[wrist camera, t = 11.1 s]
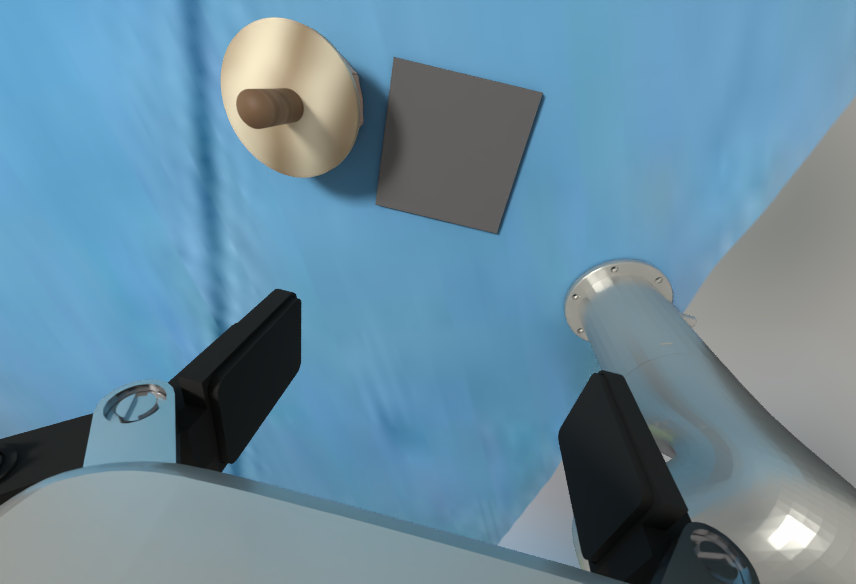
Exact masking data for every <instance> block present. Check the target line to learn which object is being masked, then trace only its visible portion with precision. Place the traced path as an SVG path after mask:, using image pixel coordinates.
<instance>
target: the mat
mask: <svg viewBox="0 0 856 584" xmlns="http://www.w3.org/2000/svg"><path fill="white" fill-rule="evenodd" d="M542 94H543V93H542V92H537V91H533V90H529V89H525V88H521V87H517V86H512V85H508V84H504V83H500V82H496V81H492V80H487V79H483V78H479V77H475V76H471V75H467V74H462V73H458V72H454V71H450V70H446V69H442V68H437V67H433V66H429V65H425V64H421V63H417V62H412V61H408V60H404V59H400V58H396V57H394V60H393V68H392V76H391V84H390V92H389V100H388V108H387V116H386V124H385V132H384V140H383V148H382V156H381V164H380V172H379V180H378V188H377V196H376V205H380V206H384V207H388V208H392V209H396V210H401V211H405V212H409V213H413V214H417V215H421V216H426V217H430V218H434V219H438V220H442V221H446V222H451V223H455V224H459V225H463V226H467V227H471V228H476V229H480V230H484V231H488V232H492V233H496V234H497V231H498V228H499V225H500V222H501V219H502V216H503V213H504V209H505V206H506V203H507V200H508V197H509V194H510V191H511V188H512V185H513V182H514V179H515V176H516V173H517V170H518V167H519V164H520V161H521V158H522V155H523V152H524V149H525V146H526V143H527V140H528V137H529V134H530V131H531V128H532V124H533V121H534V118H535V115H536V112H537V109H538V106H539V103H540V100H541V97H542Z"/></svg>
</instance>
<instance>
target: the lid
mask: <svg viewBox="0 0 856 584" xmlns="http://www.w3.org/2000/svg"><path fill="white" fill-rule="evenodd" d="M221 91H222V98H223V103H224V107H225V110H226V113H227V116H228V118H229V121H230V123H231V125H232V127H233V129H234V131H235V133H236V134H237V136H238V137H239V139H240V140H241V142H242V143H243V144H244V146H245V147H246V148H247V149H248V150H249V151H250V152H251V153H252V154H253V155H254V156H255V157H256V158H257V159H258V160H259V161H261V162H262V163H263V164H265V165H266V166H268V167H269V168H271V169H273V170H275V171H277V172H279V173H282V174H285V175H288V176H293V177H301V178H305V177H314V176H319V175H321V174H324V173H326V172H328V171H330V170H331V169H333V168H335V167H336V166H338V165H339V164H340V163H341V162H342V161H343V160H344V159H345V158H346V157H347V156H348V154H349V153H350V151H351V150H352V148H353V146H354V144H355V141H356V138H357V135H358V131H359V126H360V101H359V95H358V91H357V87H356V83H355V81H354V78H353V76H352V73H351V71H350V69H349V67H348V65H347V63H346V62H345V60H344V59H343V57H342V56H341V54H340V53H339V52H338V51H337V49H336V48H335V47H334V46H333V45H332V44H331V43H330V42H329V41H328V40H327V39H326V38H325V37H324V36H322V35H321V34H320V33H318V32H317V31H315V30H314V29H312V28H310V27H308V26H306V25H304V24H301V23H299V22H296V21H293V20H289V19H284V18H265V19H260V20H257V21H254V22H252V23H251V24H249V25H247V26H245V27H244V28H243V29H242V30H240V31H239V32H238V33H237V35H236V36H235V37H234V38H233V40H232V41H231V43H230V45H229V46H228V48H227V51H226V53H225V56H224V60H223V64H222V70H221Z"/></svg>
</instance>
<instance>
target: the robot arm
mask: <svg viewBox="0 0 856 584" xmlns="http://www.w3.org/2000/svg"><path fill="white" fill-rule="evenodd" d="M612 267H613V268H612ZM672 301H673V291H672V288H671V284H670V283H669V281H668V279H667V278H666V276H665V275H664V274H663V273H662V272H661V271H660V270H658V269H657V268H656V267H654V266H653V265H651V264H648V263H646V262H643V261H639V260H633V259H620V260H613V261H609V262H605V263H602V264H600V265H597V266H595V267H593V268H591V269H590V270H588V271H586V272H585V273H584V274H582V275H581V276H580V277H579V278H578V279H577V280H576V281H575V282H574V283H573V285H572V286H571V287H570V289H569V291H568V293H567V295H566V298H565V302H564V313H565V317H566V320H567V323H568V325H569V326H570V328H571V330H572V331H573V332H574V333H575V334H576V335H577V336H579V337H580V338H582V339H583V340H586V341H588V342H590V345H591V347H592V349H593V351H594V354H595V356H596V358H597V361H598V363H599V365H600V367H601V371H600V372H599V373H598V374H597V373H594V374H592V376H591V377H590V379H589V381H588V382H587V384H586V386H585V387H584V389H583V391H582V393H581V394H580V396H579V398H578V399H577V401H576V403H575V404H574V406H573V408H572V409H571V411H570V413H569V414H568V416H567V418H566V419H565V421H564V423H563V425H562V426H561V428H560V430H559V435H558V440H559V445H560V450H561V455H562V460H563V465H564V470H565V475H566V480H567V485H568V489H569V494H570V499H571V504H572V509H573V514H574V518H573V523H572V534H573V543H574V547H575V551H576V555H577V558H578V561H579V564H580V566H581V569H579V568H575V567H572V566H568V565H565V564H562V563H558V562H554V561H551V560H546V559H543V558H540V557H536V556H533V555H529V554H525V553H522V552H518V551H515V550H511V549H507V548H504V547H500V546H497V545H493V544H489V543H486V542H482V541H479V540H475V539H471V538H468V537H464V536H460V535H457V534H453V533H449V532H446V531H442V530H438V529H435V528H431V527H427V526H424V525H420V524H416V523H413V522H409V521H405V520H401V519H398V518H394V517H390V516H387V515H383V514H379V513H376V512H372V511H368V510H364V509H361V508H357V507H353V506H349V505H346V504H342V503H338V502H334V501H331V500H327V499H323V498H319V497H316V496H312V495H308V494H304V493H301V492H297V491H293V490H289V489H285V488H282V487H278V486H274V485H270V484H266V483H262V482H258V481H254V480H250V479H246V478H242V477H238V476H234V475H230V474H226V473H222V471H223V470H224V468H225V467H226V465H227V464H228V463H230V464H232V463H234V462H235V461H236V460H237V459H238V457H239V456H240V454H241V453H242V452H243V450H244V449H245V447H246V446H247V444H248V443H249V442H250V440H251V439H252V437H253V436H254V434H255V433H256V431H257V430H258V429H259V427H260V426H261V424H262V423H263V421H264V420H265V418H266V417H267V416H268V414H269V413H270V411H271V410H272V408H273V407H274V406H275V404H276V403H277V401H278V400H279V398H280V397H281V395H282V394H283V393H284V391H285V390H286V388H287V387H288V385H289V384H290V383H291V381H292V380H293V378H294V377H295V375H296V374H297V372H298V370H299V368H300V364H301V300H300V299H298V298H297V296H296V294H295V293H293V292H289V291H285V290H281V289H275V290H274V291H273V292H272V293H270V294H269V295H268V296H267V297H266V298H265V299H264V300H263V301H262V302H260V303H259V304H258V305H257V306H256V307H255V308H254V309H253V310H251V311H250V312H249V313H248V314H247V315H246V316H245V317H244V318H243V319H241V320H240V321H239V322H238V323H235V324H234V325H232V326H231V327H230V328H229V329H228V330H227V331H225V332H224V333H223V334H222V335H221V336H220V337H219V338H218V339H216V340H215V341H214V342H213V343H212V344H211V345H210V346H209V347H207V348H206V349H205V350H204V351H203V352H202V353H201V354H200V355H198V356H197V357H196V358H195V359H194V360H193V361H192V362H191V363H189V364H188V365H187V366H186V367H185V368H184V369H183V370H182V371H180V372H179V373H178V374H177V375H176V376H175V377H174V378H173V379H171V380H170V381H169V382H168V383H167V382H164V381H161V380H154V379H147V380H139V381H135V382H131V383H128V384H125V385H123V386H121V387H119V388H117V389H114V390H113V391H112V392H110V393H109V394H107V395H106V396H104V397H103V399H102V400H101V401H100V402H99V403H98V404H97V406H96V408H95V410H94V413H93V414H89V415H85V416H82V417H78V418H75V419H71V420H67V421H64V422H60V423H57V424H53V425H50V426H46V427H42V428H39V429H35V430H32V431H28V432H24V433H21V434H17V435H14V436H10V437H6V438H3V439H0V584H856V488H854V487H853V486H852V485H851V484H850V483H849V482H848V481H847V480H845V479H844V478H843V477H842V476H841V475H840V474H838V473H837V472H836V471H835V470H834V469H832V468H831V467H830V466H829V465H828V464H826V463H825V462H824V461H823V460H822V459H821V458H819V457H818V456H817V455H816V454H815V453H814V452H812V451H811V450H810V449H809V448H807V447H806V446H805V445H804V444H803V443H802V442H801V441H799V440H798V439H797V438H796V437H795V436H794V435H793V434H792V433H790V432H789V431H788V430H787V429H786V428H785V427H784V426H783V425H782V424H781V423H779V421H777V420H776V419H775V418H774V417H773V416H772V415H771V414H770V413H769V412H768V411H767V410H766V409H765V408H764V407H763V406H762V405H761V404H760V403H759V402H758V401H757V400H756V399H755V398H754V397H753V395H752V394H750V392H749V391H748V390H747V389H746V388H745V387H744V386H743V385H742V384H741V383H740V382H739V381H738V380H737V378H736V377H735V376H734V375H733V374H732V373H731V372H730V370H729V369H728V368H727V367H726V366H725V365H724V364H723V363H722V362H721V361H720V360H719V358H718V357H717V356H716V355H715V354H714V353H713V352H712V351H711V350H710V348H709V347H708V346H707V345H706V344H705V343H704V341H702V339H701V338H700V337H699V336H698V335H697V334H696V333H695V331H694V330H693V329H692V328H691V327H693V326H695V324H696V318H695V317H694V316H690V315H685V314H681V313H680V312H679V311H678V310H677V309H676V308H675V306H674V305H673V304H672ZM661 453H663V454H665V455H667V456H669V457H671V458H673V459H671V460H670V461H669V462H665V460H664V459H663V456H662V454H661Z"/></svg>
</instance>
